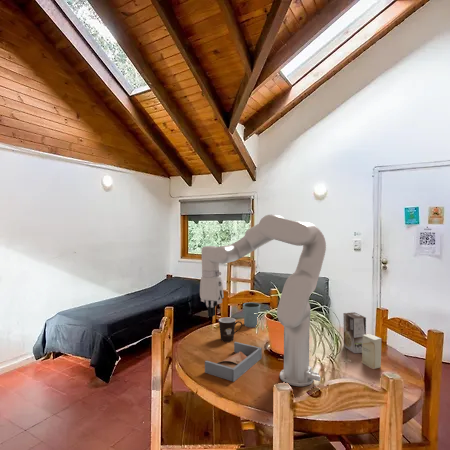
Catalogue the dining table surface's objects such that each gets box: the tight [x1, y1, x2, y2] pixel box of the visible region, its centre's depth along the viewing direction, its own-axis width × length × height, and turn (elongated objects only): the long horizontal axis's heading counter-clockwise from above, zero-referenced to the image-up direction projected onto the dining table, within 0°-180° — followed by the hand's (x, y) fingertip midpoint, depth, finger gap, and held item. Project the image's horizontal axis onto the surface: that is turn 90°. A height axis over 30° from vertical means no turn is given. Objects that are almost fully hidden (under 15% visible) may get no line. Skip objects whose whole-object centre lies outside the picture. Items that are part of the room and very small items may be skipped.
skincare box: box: [361, 333, 382, 370], centre depth 129 cm, size 6×4×12 cm
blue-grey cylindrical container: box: [242, 301, 261, 328], centre depth 180 cm, size 10×10×12 cm
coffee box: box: [343, 311, 367, 354], centre depth 145 cm, size 9×6×16 cm
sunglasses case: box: [216, 351, 248, 368], centre depth 128 cm, size 18×7×7 cm
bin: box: [204, 341, 263, 382], centre depth 129 cm, size 14×24×4 cm, turn 148°
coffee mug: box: [218, 316, 243, 343], centre depth 158 cm, size 12×9×10 cm
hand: (211, 315), depth 136 cm, fingers closed
